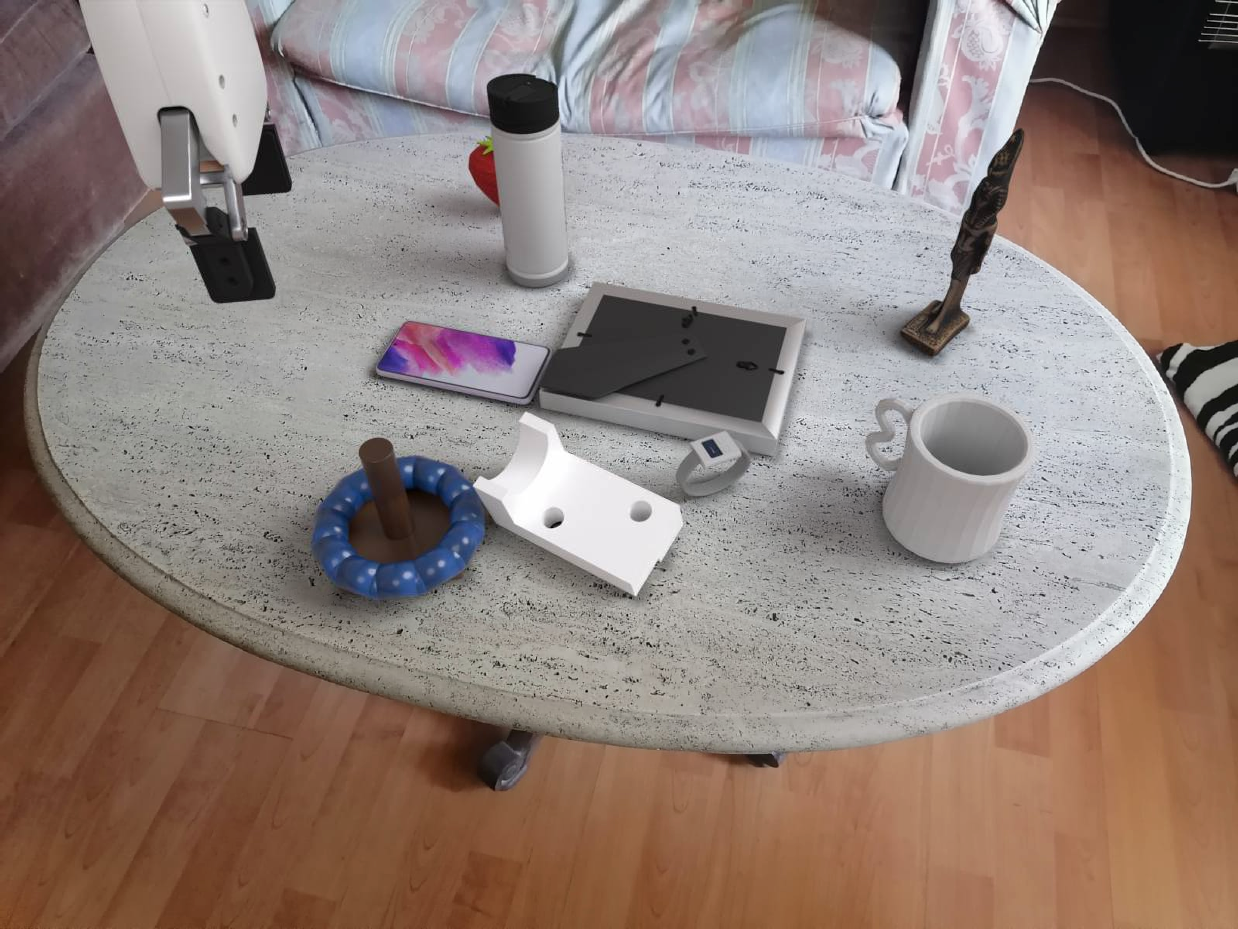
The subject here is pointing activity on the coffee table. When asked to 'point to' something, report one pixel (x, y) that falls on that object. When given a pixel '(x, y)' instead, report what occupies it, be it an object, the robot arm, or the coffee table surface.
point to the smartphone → (465, 362)
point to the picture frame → (676, 366)
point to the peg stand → (394, 512)
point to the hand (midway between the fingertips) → (256, 241)
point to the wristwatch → (713, 463)
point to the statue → (967, 253)
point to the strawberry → (484, 169)
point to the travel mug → (529, 177)
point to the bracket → (580, 509)
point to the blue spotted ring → (405, 575)
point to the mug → (952, 473)
